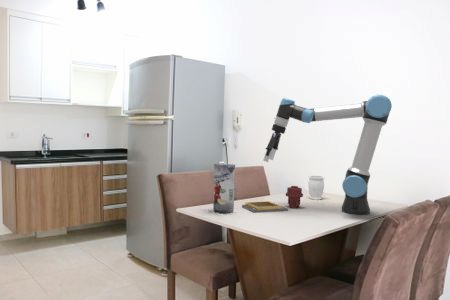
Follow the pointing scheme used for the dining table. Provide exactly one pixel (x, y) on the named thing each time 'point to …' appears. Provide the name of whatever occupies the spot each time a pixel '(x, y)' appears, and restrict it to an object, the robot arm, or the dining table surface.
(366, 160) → the robot arm
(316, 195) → the jar
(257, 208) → the deck plate
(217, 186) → the juice carton
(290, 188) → the mechanical component
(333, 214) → the dining table surface
